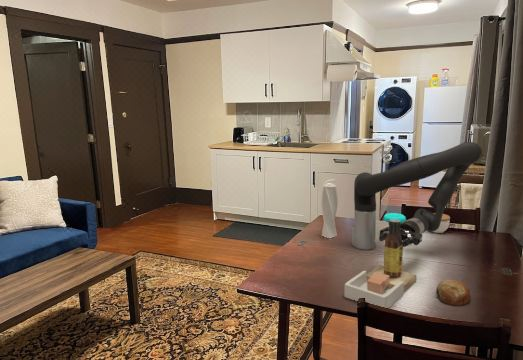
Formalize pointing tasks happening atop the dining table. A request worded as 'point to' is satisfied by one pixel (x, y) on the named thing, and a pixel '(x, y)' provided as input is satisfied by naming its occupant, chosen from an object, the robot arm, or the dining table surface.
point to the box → (359, 290)
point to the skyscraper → (329, 209)
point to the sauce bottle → (393, 250)
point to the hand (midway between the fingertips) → (391, 241)
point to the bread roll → (453, 292)
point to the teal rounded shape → (394, 217)
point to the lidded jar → (443, 224)
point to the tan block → (382, 278)
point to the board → (395, 278)
